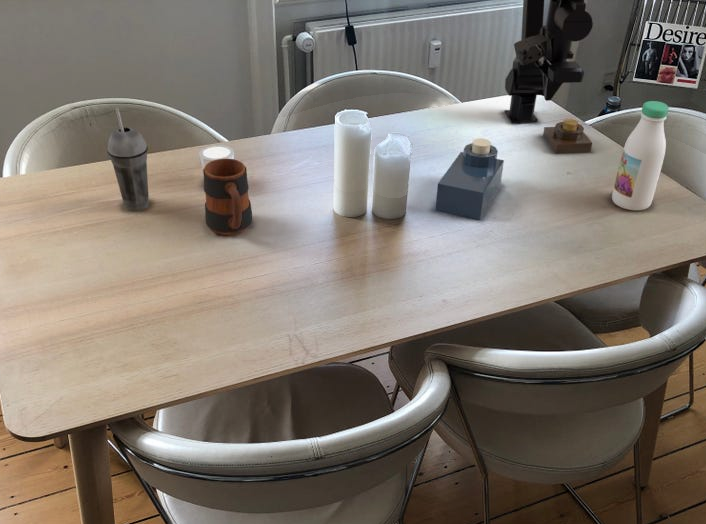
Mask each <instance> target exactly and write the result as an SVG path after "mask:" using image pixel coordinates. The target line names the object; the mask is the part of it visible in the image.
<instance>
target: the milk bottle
mask: <svg viewBox="0 0 706 524" xmlns="http://www.w3.org/2000/svg"><path fill="white" fill-rule="evenodd" d="M669 111H670V110H669V105H667V104H666V103H664V102H662V101H658V100H657V101H656V100H648V101H646V102H644V103H643V105H642V107H641V112H640V116H641V117H640V120H639V122H638V123H637V125H636V126H635V128H634V129H633V130H632V131H631V133H630V134H629V135H628V137H627V139H626V141H625V144H624V147H623V151H622V154H621V157H620V162H619V165H618V169H617V174H616V178H615V181H614V186H613V190H612V194H611V199H612V202H613V203H614V204H615V205H616V206H618V207H620V208H621V209H624V210H629V211H644V210H646V209H648V208H650V206H651V205H652V203H653V199H654V197H655V194H656V189H657V186H658V182H659V178H660V175H661V171H662V168H663V164H664V159H665V155H666V149H667V140H666V134H665V127H664V126H665V125H664V124H665V120H667V116H668V114H669Z"/></svg>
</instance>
